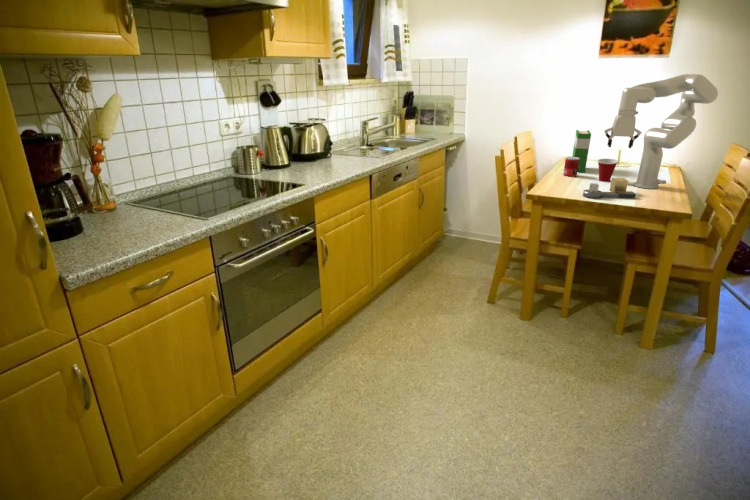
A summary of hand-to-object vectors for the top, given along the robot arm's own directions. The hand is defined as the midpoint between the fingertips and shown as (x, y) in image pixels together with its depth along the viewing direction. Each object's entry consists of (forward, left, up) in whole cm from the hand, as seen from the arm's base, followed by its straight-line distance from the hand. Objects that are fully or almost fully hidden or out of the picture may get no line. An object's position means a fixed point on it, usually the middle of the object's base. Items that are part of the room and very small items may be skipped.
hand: (619, 147), depth 237 cm
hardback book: (+3, -51, -23) cm, 56 cm away
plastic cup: (-4, -21, -23) cm, 32 cm away
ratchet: (+7, +15, -23) cm, 28 cm away
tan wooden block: (-2, +5, -23) cm, 23 cm away
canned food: (+12, -33, -23) cm, 42 cm away
